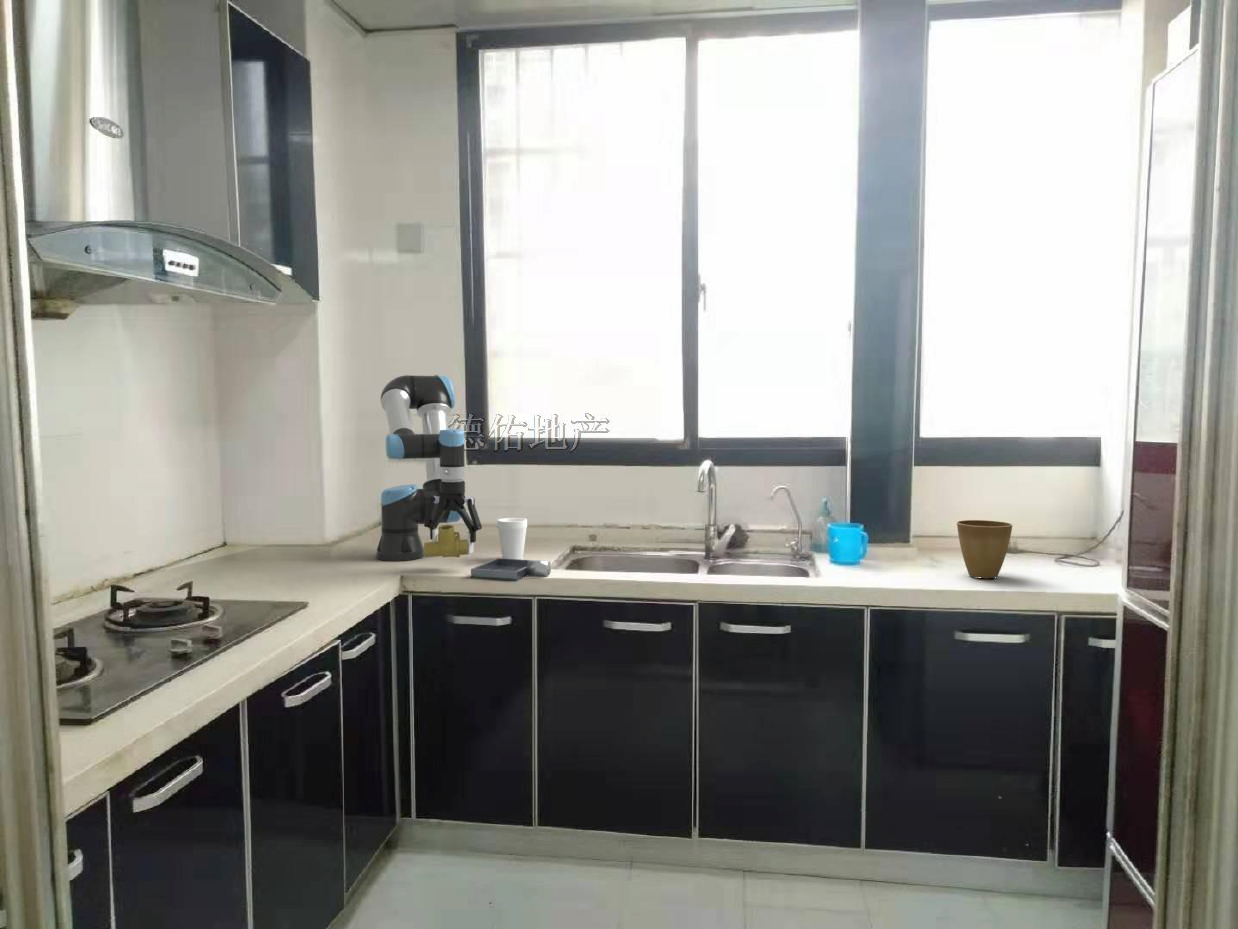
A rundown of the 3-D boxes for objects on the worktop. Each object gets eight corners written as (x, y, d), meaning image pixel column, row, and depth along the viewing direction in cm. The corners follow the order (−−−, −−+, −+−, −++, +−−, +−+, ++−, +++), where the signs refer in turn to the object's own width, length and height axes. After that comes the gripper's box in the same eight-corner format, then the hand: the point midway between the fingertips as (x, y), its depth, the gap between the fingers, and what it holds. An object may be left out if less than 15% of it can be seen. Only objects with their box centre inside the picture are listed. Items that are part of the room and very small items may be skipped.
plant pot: (1018, 577, 245) (1020, 522, 244) (998, 585, 234) (1000, 528, 233) (967, 569, 255) (969, 517, 254) (946, 576, 245) (948, 522, 244)
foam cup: (530, 561, 267) (530, 521, 266) (502, 563, 264) (501, 522, 263) (522, 556, 276) (522, 517, 275) (495, 558, 273) (494, 518, 272)
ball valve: (467, 561, 251) (470, 550, 260) (464, 528, 248) (467, 518, 258) (424, 564, 250) (429, 552, 259) (421, 531, 247) (425, 521, 257)
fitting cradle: (471, 577, 243) (470, 562, 243) (497, 565, 260) (497, 552, 260) (536, 582, 237) (536, 567, 237) (559, 570, 254) (559, 555, 254)
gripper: (411, 479, 253) (412, 551, 255) (481, 483, 246) (482, 556, 248) (424, 477, 260) (425, 546, 262) (492, 480, 253) (493, 551, 255)
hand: (453, 551), depth 255 cm, fingers closed on ball valve, 11 cm apart
